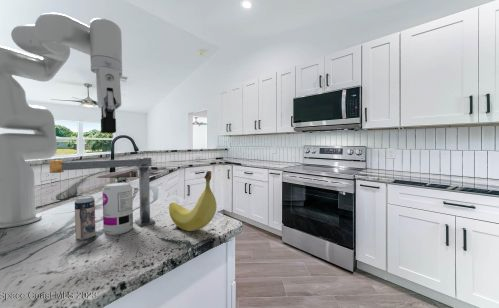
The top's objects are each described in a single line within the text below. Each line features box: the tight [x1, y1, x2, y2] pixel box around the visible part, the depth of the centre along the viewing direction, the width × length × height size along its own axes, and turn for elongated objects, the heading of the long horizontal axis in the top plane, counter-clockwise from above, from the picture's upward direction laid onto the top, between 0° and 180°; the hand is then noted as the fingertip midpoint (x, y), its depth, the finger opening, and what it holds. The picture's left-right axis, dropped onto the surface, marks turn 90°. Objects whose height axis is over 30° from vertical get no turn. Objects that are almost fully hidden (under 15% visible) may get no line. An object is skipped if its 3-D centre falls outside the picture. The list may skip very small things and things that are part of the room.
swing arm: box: [48, 157, 153, 174], centre depth 69 cm, size 27×5×3 cm, turn 135°
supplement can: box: [102, 181, 134, 236], centre depth 71 cm, size 8×8×15 cm
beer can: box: [74, 195, 97, 241], centre depth 66 cm, size 5×5×12 cm
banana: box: [168, 170, 217, 232], centre depth 71 cm, size 23×6×20 cm, turn 50°
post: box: [134, 166, 156, 227], centre depth 78 cm, size 5×5×20 cm
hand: (108, 132), depth 63 cm, fingers open, 2 cm apart
